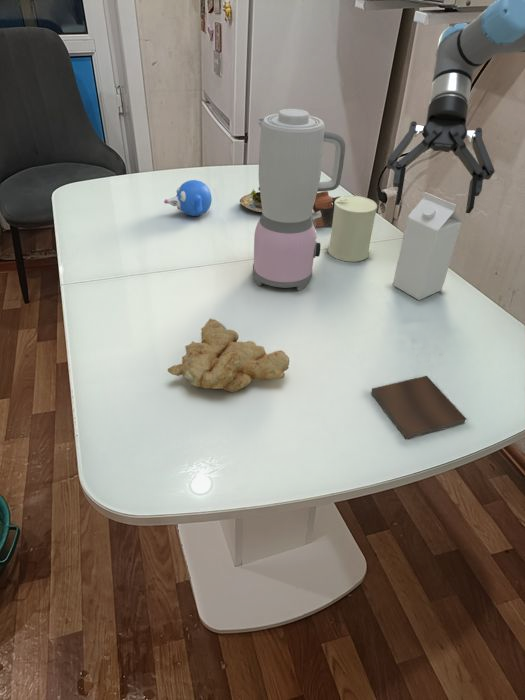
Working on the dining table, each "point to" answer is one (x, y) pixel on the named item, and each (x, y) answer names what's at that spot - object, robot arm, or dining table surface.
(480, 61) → the robot arm
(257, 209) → the plate of food
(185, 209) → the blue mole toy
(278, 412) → the dining table surface
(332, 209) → the pottery mug
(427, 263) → the milk carton
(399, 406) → the coaster board
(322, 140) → the blender
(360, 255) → the can
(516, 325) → the dining table surface
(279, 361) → the ginger root
